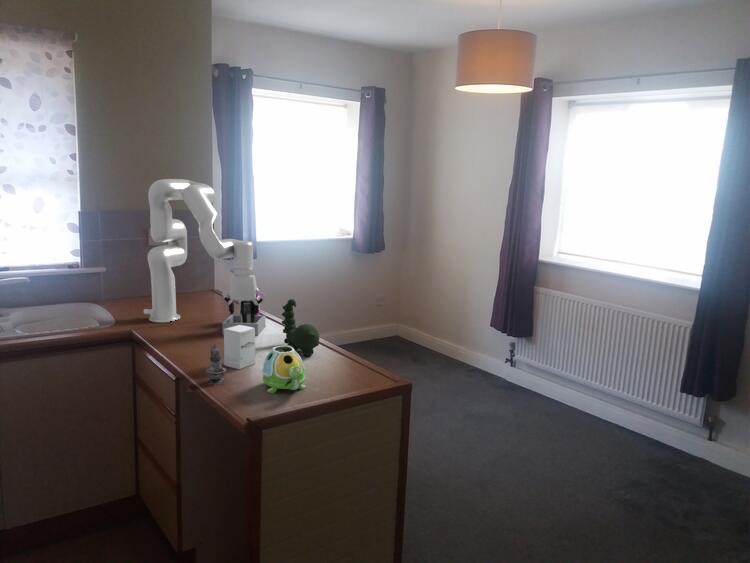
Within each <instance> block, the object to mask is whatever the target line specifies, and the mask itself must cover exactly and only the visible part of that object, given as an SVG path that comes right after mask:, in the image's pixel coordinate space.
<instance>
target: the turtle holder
mask: <svg viewBox="0 0 750 563" xmlns="http://www.w3.org/2000/svg"><path fill="white" fill-rule="evenodd" d="M278 350H282V351H281V352H280V351H278ZM305 371H306V369H305V366H304V362H303V360H302V357H301V356H300V355H299V353H298V352H297V351H294V348H292V347H291V346H287V345H278V346H274V347H272V349H271V350H270V351H269V352H268V353H267V355H266V357H265V359H264V362H263V367H262V375H263V376H262V381H263V383H264V384H265V385H266V386H268V387H270V388H268V389H267V392H268V393H269V394H276V393H277V390H290V391H295V390H304V389H305V388H306V385H305V384H303V383H304V382H305V379H306V377H305Z"/></svg>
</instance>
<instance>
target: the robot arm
mask: <svg viewBox="0 0 750 563" xmlns="http://www.w3.org/2000/svg"><path fill="white" fill-rule="evenodd" d="M177 200H178V201H181V200H183V201H184V202H185V204H186V206H187V208H188V209H189V211H190V212H191V213H192V215H193V217H194V219H195V220H196V221H197V223H198V233H199V235H198V236H199V240H200V242H201V243H200V244H202V246H203V248H204V249H205V251H206V252H207V254H208V255H209V256H210V257H211V258H213V259H214V260H220V261H221V260H223V259H224V260H226V259H231V258H233V268H230V269H229V272H230V273H232V275H231V278H230V283H229V284H230V285H229V286H230V288H229V289H228V290H226V291H224V292H222V293H221V295H222V297H223V299H224V301H225V302H226V303H227V304H228V312H229V313H230V315H234V313H235V303H234V301H236V302H240V301H253V302H254V303H255V305H254V315H257V314H258V313H259V314H260V304H261V303H262V302H263V301H264V299H265V297H266V293H264V292H263V291H261V290H259V289H258V290H257V287H258V286H257V278H256V275H255V274H254V243H253V242H252V241H250V240H238V239H236V238H235V239H234V238H224V239H219V237H218V236H217V234H216V232H215V231H214V228H213V224H214V223H215V221H217V219H218V217H219V214H218V212H217V210H216V208H215V207H214V205H213V203H214V202H215V200H216V193H215V191H214V189H213V188H212V186H210V185H208V184H207V183H202V182H197V181H193V180H189V179H183V178H179V179H178V178H163V179H159V180H156V181H154V182H153V183H152V184H151V185H150V187H149V189H148V204H149V208H150V209H149V211H150V212H149V213H150V215H149V216H150V217H149V220H150V223H149V224H150V236H151V239H152V240H153V241H154V242H155V243H159V244H162V243H167V244H165V245H158V246H155V247H153V248H151V249H150V250H149V251H148V252H147V263H148V266H149V271H150V282H151V283H150V284H151V302H152V303H151V304H152V306H151V307H152V308H151V309H148V308H144V309H143V314H144V315H147V316H148V315H149V317H148V320H149V321H150V322H151V323H152V322H153V323H171V322H170V321H172V322H176V321H175V320H177V321H178V319H179V320H180V319H181V315H180V314H178V313H177V300H176V299H177V296H176V293H177V292H176V277H175V275H174V272H173V270H172V268H173V267H178V266H182V265H183V264H185V263H186V260H187V259H188V258H187V257H188V230H187V227H186V225H185V223H184V222H183V221H182V220H180V219H176V218H173V209H172V207H171V204H170V202H169V201H177ZM228 294H229V297H228ZM257 294H258V295H259V300H258V299H257Z"/></svg>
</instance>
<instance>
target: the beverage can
mask: <svg viewBox="0 0 750 563" xmlns="http://www.w3.org/2000/svg"><path fill="white" fill-rule="evenodd" d="M254 305H255V303H254V302H253V301H241V303H240V302H239V310H240V309H241V323H255V315H254Z"/></svg>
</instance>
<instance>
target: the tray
mask: <svg viewBox="0 0 750 563" xmlns="http://www.w3.org/2000/svg"><path fill="white" fill-rule="evenodd" d="M266 324H267V323H266V315H261V314H259V315H255V323H241V315H240V314H230V315H229V316H228V317H227V318H226V319H225V320H223V322H222V323H221V327H222V328H221V330H222V335H223V336H224V329H226V328H230V327H234V326H237V325H243V326H248V327H253V328H255V337H258V336H260V334H261V333H262V332H263V330H264V329H265V328H266V327H267V326H266Z"/></svg>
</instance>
